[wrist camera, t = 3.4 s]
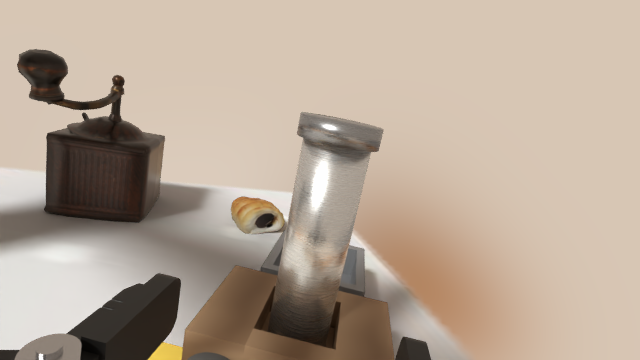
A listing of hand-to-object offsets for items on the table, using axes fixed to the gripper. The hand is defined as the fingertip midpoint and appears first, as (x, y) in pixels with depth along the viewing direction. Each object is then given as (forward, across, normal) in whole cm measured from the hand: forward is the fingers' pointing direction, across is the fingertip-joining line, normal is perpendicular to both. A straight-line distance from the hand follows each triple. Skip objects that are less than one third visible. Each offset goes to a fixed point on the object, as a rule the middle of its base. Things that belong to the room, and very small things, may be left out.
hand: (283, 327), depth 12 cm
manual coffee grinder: (+27, +28, +11) cm, 41 cm away
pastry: (+35, +11, +12) cm, 38 cm away
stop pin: (+10, 0, +8) cm, 13 cm away
